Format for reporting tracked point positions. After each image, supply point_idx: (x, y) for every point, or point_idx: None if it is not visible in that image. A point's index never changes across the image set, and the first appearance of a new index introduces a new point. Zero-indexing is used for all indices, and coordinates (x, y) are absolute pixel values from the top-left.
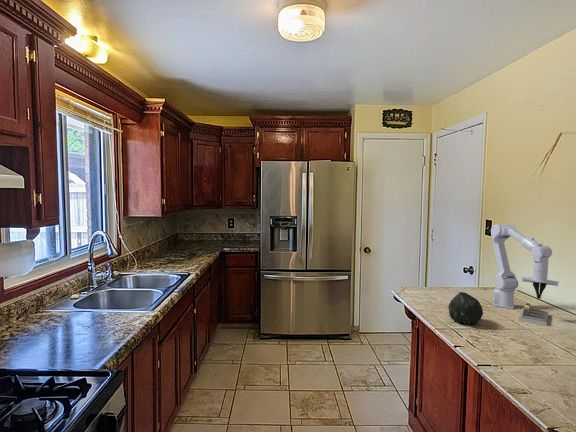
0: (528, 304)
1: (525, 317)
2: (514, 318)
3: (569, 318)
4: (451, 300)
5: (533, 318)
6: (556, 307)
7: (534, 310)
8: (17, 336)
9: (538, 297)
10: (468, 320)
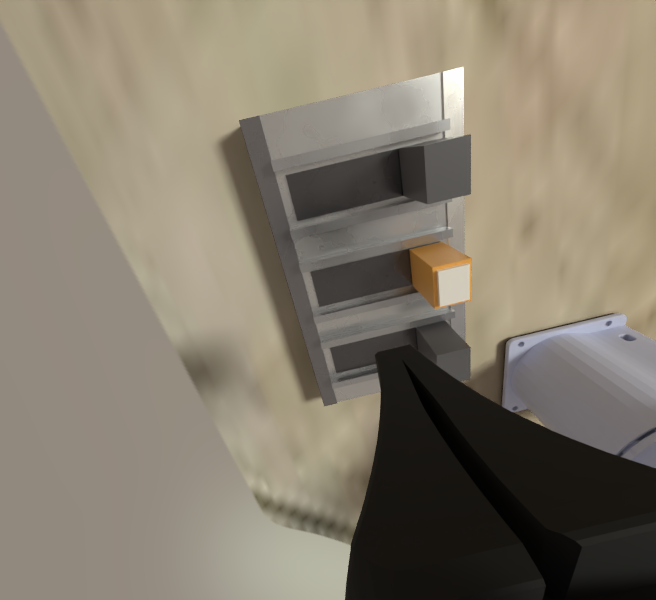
0: (449, 352)
1: (414, 125)
2: (482, 115)
3: (223, 420)
4: None
5: (354, 140)
6: (332, 521)
7: None
8: None
9: (401, 353)
10: None
